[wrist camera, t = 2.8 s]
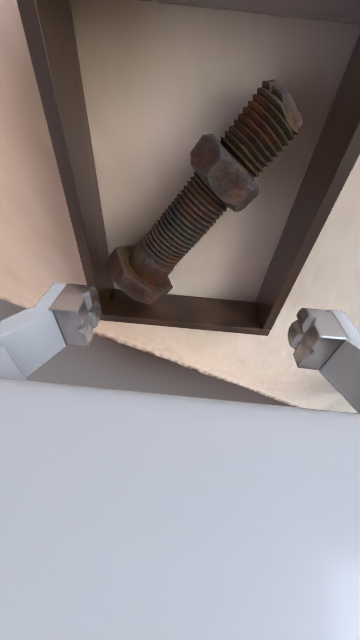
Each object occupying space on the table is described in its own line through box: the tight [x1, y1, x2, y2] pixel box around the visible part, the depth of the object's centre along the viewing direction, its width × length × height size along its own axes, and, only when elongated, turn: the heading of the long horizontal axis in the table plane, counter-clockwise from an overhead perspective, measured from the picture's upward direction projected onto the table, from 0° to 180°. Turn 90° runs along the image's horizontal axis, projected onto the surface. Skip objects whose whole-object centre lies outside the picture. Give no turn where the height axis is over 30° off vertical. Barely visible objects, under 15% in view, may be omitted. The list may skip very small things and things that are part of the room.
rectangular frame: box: [17, 0, 360, 336], centre depth 17 cm, size 17×20×4 cm
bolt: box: [109, 80, 303, 304], centre depth 17 cm, size 6×5×15 cm
